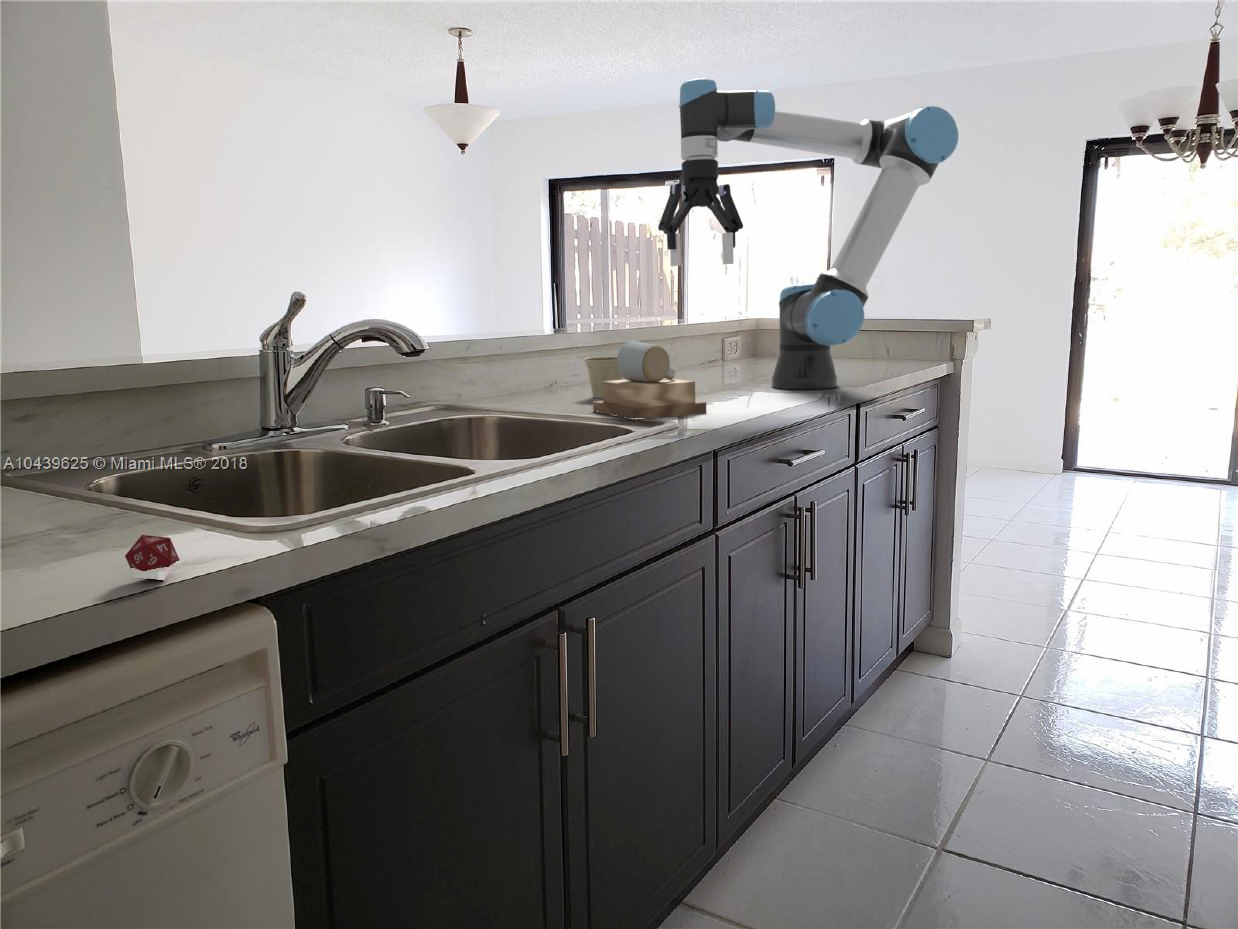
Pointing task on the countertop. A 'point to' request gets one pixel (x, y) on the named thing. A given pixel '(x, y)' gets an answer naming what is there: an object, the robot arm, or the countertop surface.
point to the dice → (151, 553)
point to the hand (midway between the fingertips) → (702, 265)
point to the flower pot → (602, 373)
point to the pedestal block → (649, 392)
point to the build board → (650, 410)
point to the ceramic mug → (644, 362)
